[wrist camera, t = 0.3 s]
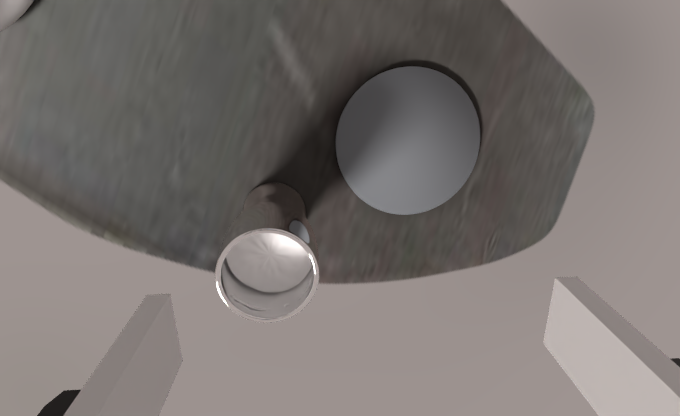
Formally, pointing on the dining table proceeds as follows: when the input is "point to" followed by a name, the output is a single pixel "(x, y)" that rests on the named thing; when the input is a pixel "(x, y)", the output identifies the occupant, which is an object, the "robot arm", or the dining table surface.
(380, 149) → the mat
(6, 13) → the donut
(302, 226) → the beer glass
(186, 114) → the dining table surface
